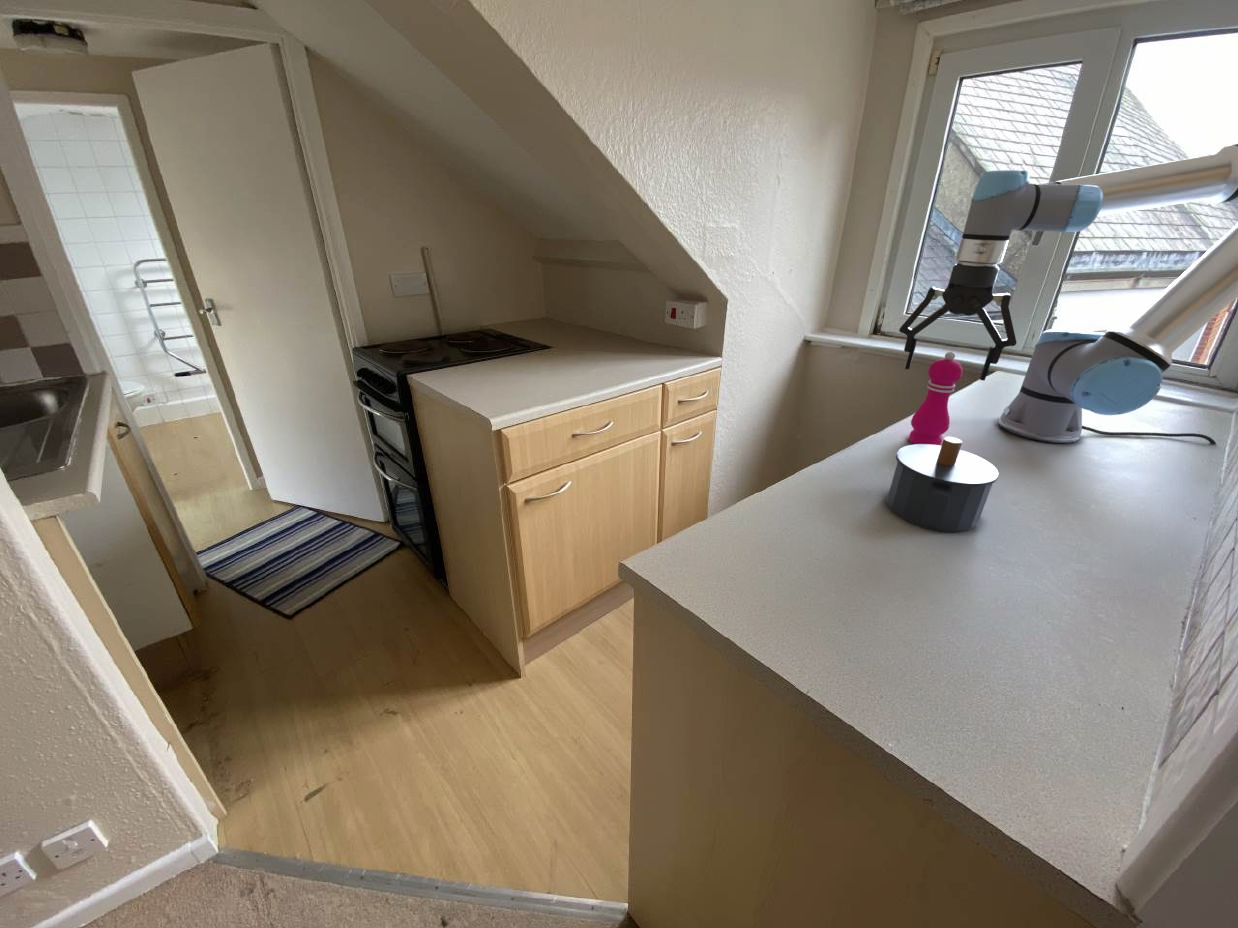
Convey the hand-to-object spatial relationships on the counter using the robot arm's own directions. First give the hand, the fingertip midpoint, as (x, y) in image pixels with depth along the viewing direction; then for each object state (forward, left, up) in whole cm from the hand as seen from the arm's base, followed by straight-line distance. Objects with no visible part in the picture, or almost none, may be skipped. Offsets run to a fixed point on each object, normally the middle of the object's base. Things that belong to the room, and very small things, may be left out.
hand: (943, 373), depth 109 cm
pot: (-3, +32, -16) cm, 36 cm away
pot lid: (-3, +32, -7) cm, 33 cm away
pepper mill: (0, 0, -16) cm, 16 cm away
